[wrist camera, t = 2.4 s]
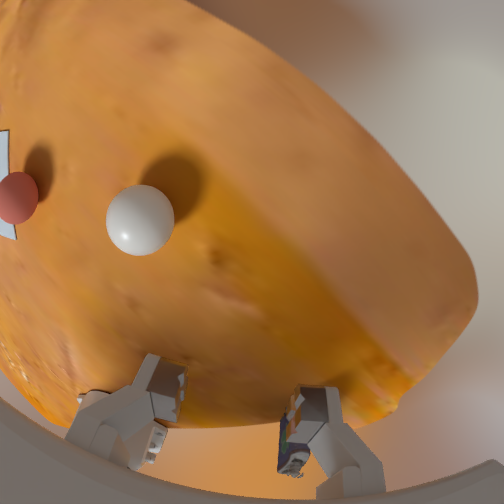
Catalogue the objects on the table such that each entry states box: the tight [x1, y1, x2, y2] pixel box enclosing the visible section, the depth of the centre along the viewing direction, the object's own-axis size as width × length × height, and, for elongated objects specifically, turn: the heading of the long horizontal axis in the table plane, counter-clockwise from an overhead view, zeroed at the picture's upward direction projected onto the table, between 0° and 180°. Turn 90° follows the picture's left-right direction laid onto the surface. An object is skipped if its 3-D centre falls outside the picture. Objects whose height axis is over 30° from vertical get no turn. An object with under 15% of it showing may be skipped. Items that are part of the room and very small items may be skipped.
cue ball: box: [106, 185, 174, 256], centre depth 20 cm, size 6×6×6 cm
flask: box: [277, 407, 310, 478], centre depth 29 cm, size 9×3×11 cm, turn 172°
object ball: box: [0, 172, 38, 224], centre depth 20 cm, size 6×6×6 cm
